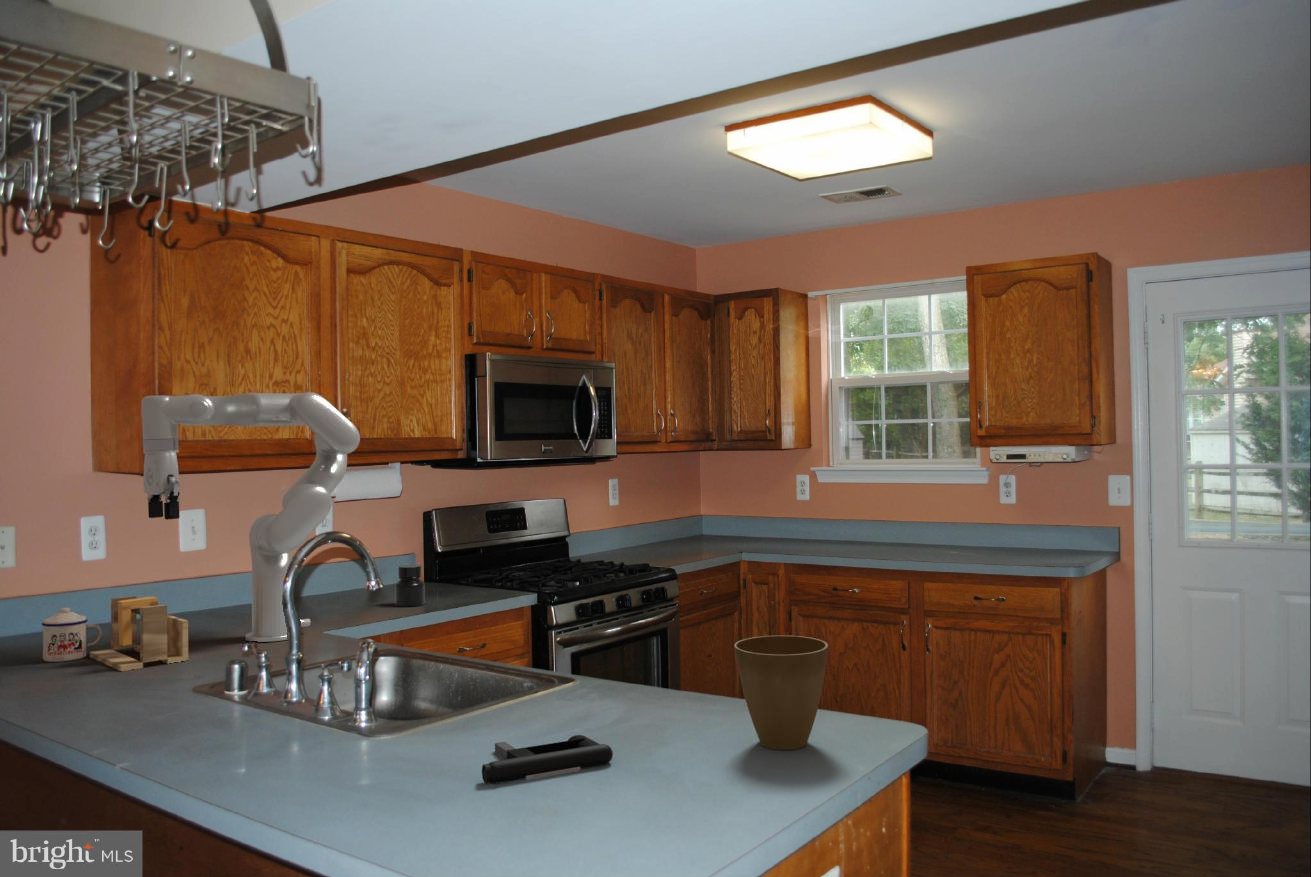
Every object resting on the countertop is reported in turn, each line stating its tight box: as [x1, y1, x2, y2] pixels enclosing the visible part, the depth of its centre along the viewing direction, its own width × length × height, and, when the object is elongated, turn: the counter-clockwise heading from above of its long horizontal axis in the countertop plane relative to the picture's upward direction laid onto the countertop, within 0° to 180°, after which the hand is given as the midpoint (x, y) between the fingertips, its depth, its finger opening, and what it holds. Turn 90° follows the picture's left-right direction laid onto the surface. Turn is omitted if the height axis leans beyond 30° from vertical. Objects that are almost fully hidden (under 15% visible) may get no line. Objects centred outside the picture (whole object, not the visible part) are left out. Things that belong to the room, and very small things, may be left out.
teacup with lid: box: [41, 607, 103, 663], centre depth 224 cm, size 12×9×12 cm
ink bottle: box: [394, 564, 426, 608], centre depth 296 cm, size 10×9×12 cm
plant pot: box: [734, 635, 829, 751], centre depth 154 cm, size 15×15×16 cm
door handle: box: [481, 734, 614, 784], centre depth 146 cm, size 3×20×16 cm
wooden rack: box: [89, 595, 189, 672], centre depth 221 cm, size 22×14×13 cm, turn 46°
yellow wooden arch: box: [118, 595, 159, 646], centre depth 222 cm, size 8×3×10 cm, turn 135°
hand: (164, 518), depth 230 cm, fingers open, 9 cm apart
